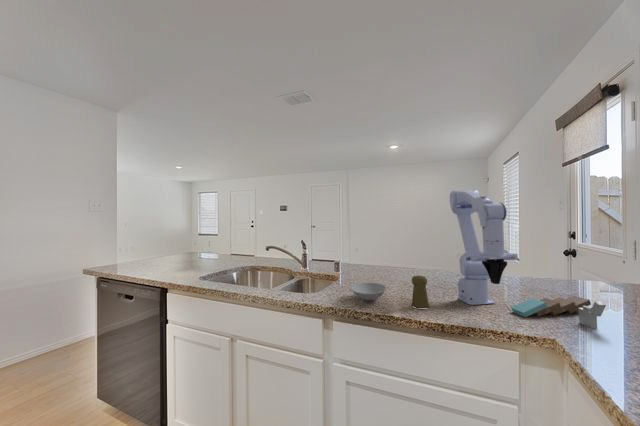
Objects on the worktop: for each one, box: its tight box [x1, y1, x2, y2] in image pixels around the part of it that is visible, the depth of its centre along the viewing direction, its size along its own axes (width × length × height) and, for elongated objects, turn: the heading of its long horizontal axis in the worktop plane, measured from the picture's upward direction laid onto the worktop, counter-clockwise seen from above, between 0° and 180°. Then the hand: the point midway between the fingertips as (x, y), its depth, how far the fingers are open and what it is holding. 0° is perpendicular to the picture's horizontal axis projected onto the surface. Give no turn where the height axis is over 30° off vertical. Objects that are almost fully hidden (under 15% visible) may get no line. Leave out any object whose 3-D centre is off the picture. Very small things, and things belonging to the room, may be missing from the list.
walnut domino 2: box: [547, 297, 576, 316], centre depth 88 cm, size 2×5×8 cm
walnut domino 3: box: [563, 295, 592, 314], centre depth 89 cm, size 2×5×8 cm
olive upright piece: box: [411, 275, 430, 309], centre depth 98 cm, size 6×6×11 cm
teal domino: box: [510, 297, 547, 318], centre depth 87 cm, size 2×5×8 cm
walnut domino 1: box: [532, 297, 561, 318], centre depth 87 cm, size 2×5×8 cm
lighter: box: [578, 300, 607, 329], centre depth 76 cm, size 7×2×8 cm, turn 172°
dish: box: [350, 281, 388, 301], centre depth 108 cm, size 18×14×5 cm
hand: (495, 283), depth 87 cm, fingers closed
